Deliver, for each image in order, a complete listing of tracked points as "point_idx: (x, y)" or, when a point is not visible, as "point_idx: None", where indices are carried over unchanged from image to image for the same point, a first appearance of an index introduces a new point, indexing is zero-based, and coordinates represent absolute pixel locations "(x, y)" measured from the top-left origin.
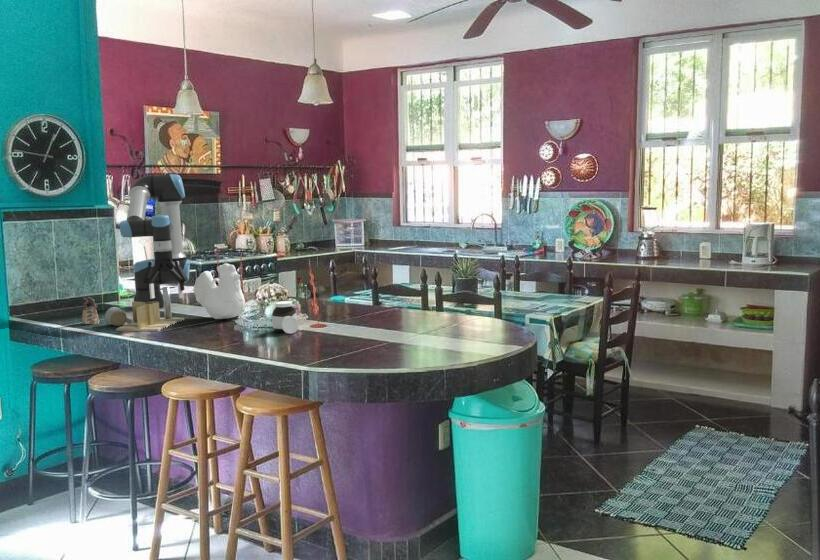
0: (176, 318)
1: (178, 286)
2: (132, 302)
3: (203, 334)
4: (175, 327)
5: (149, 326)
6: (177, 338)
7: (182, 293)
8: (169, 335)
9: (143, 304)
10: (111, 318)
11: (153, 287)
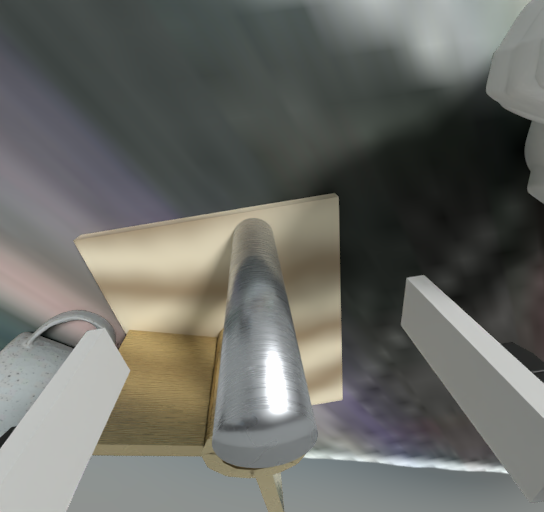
0: (304, 229)
1: (500, 449)
2: None
3: None
4: (376, 341)
5: None
6: (446, 433)
7: (451, 312)
8: (408, 419)
9: (239, 474)
10: None
11: (29, 463)
